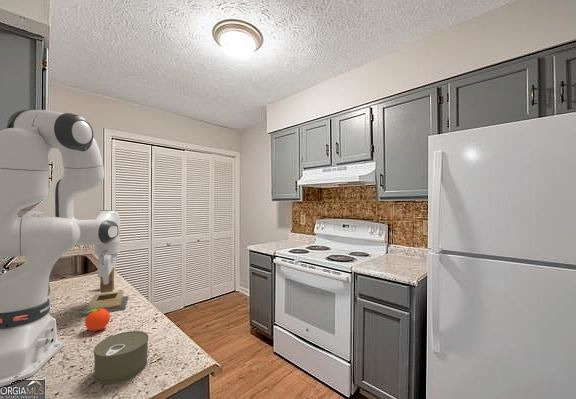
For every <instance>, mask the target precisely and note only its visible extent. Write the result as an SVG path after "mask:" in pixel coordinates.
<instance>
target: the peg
mask: <svg viewBox="0 0 576 399" xmlns="http://www.w3.org/2000/svg"><path fill="white" fill-rule="evenodd" d="M114 289H115V267H114V268H113V269H112V271H111V273H110V274H109V284H106V285H104V284H103V277H101V290H100V294H104V293H112V292H113V291H114Z"/></svg>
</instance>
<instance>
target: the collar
mask: <svg viewBox="0 0 576 399" xmlns="http://www.w3.org/2000/svg"><path fill="white" fill-rule="evenodd" d="M124 294H125V291H124V290H121V291H120V290H119V291H114V292H106V293H98V294H94V295H93V296H92V298H90V299H91V300H90V301H89V302H88V304H87V306H86V307H85V309H84V310H83V312H82V313H81V317H87V316H88V314H89V313H90V312H89V311H91V310H94V309H105V310H107V311H108V312H109V313H113V312H117V311H123V310H124V311H125V310H126V308H127V305H128V301H129V298H130V295H124ZM87 312H88V313H87ZM91 312H92V311H91Z"/></svg>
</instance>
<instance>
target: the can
mask: <svg viewBox="0 0 576 399" xmlns="http://www.w3.org/2000/svg"><path fill="white" fill-rule="evenodd" d="M148 342H149V334H148V333H146V332H145V331H140V330H139V331H138V330H132V331H131V330H130V331H126V332H125V331H124V332H121V333H116V334H114V335H111V336H109V337H107V338H105V339H102V340H101V341H99V343H97V344H96V345H95V346H94V348H93V355H94V357H93V358H94V375H93V376H94V378H93V379H94V380H95V382H96V383H98V384H100V383H101V384H100V385H114V384H118V383H121V382H125V381H128V380H130V379H131V378H133V377H135V376H137V375H139V374H140V373H142V372H143V370H144V369H146V367H147V365H148V350H149V349H148V346H149V344H148ZM113 383H114V384H113Z"/></svg>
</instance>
